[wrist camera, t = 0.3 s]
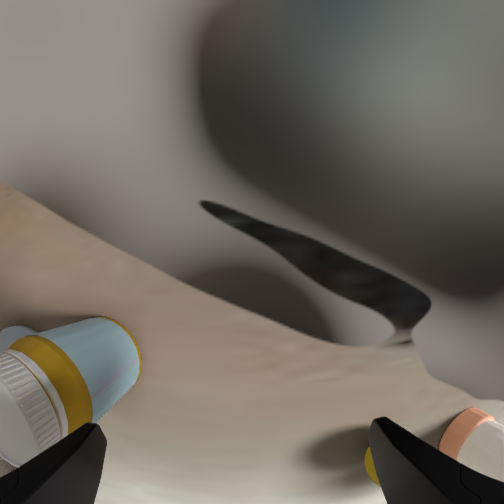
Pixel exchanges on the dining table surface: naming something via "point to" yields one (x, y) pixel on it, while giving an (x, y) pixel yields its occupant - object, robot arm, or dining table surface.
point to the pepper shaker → (476, 443)
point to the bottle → (62, 383)
